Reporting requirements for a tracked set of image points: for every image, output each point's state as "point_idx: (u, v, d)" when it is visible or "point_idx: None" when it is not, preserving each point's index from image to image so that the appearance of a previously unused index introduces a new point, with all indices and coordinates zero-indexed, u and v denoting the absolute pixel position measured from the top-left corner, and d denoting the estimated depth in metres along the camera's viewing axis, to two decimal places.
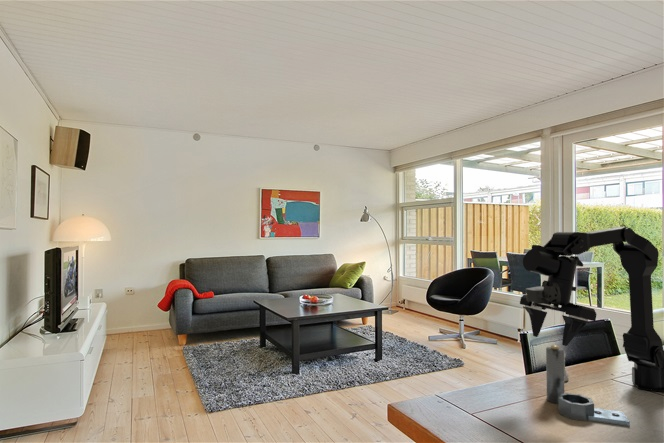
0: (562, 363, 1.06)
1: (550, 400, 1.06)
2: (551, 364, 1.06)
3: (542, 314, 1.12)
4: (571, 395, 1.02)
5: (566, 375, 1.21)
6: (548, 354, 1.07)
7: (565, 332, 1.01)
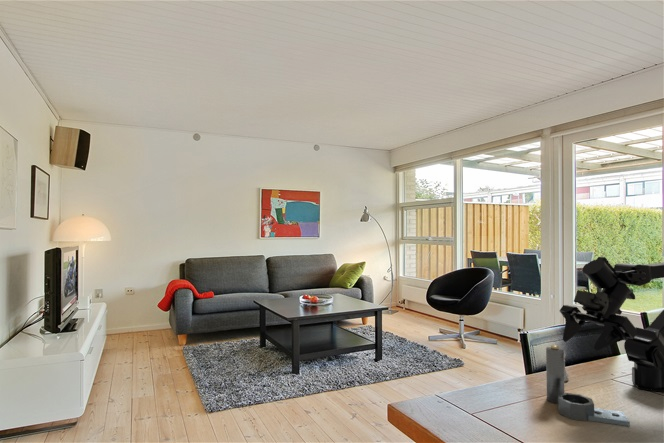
0: (562, 363, 1.06)
1: (550, 400, 1.06)
2: (551, 364, 1.06)
3: (577, 327, 1.16)
4: (571, 395, 1.02)
5: (566, 375, 1.21)
6: (548, 354, 1.07)
7: (600, 337, 1.05)
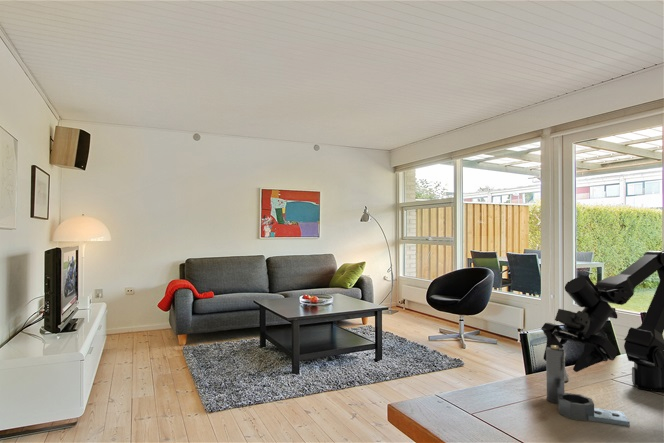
0: (562, 363, 1.06)
1: (550, 400, 1.06)
2: (551, 364, 1.06)
3: (559, 345, 1.14)
4: (571, 395, 1.02)
5: (566, 375, 1.21)
6: (548, 354, 1.07)
7: (580, 358, 1.03)
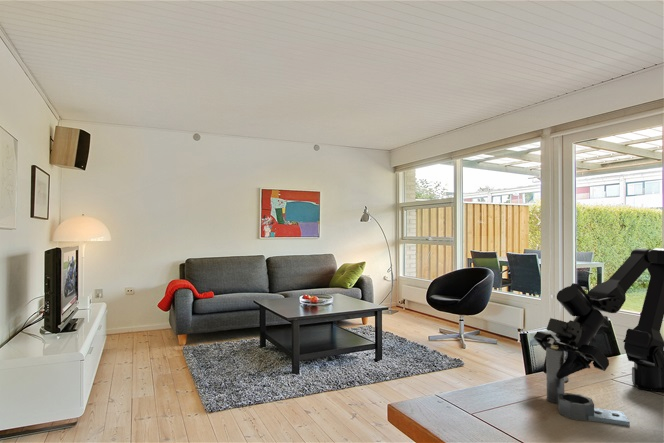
0: (562, 363, 1.06)
1: (550, 400, 1.06)
2: (551, 364, 1.06)
3: None
4: (571, 395, 1.02)
5: None
6: (548, 354, 1.07)
7: (564, 365, 1.05)
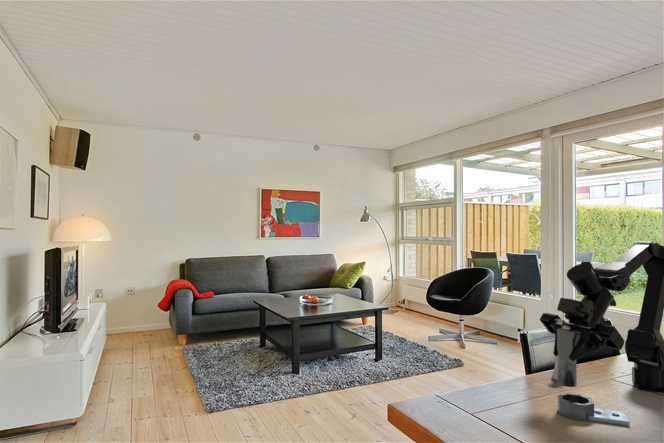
0: (575, 344, 1.01)
1: (562, 383, 1.01)
2: (563, 346, 1.01)
3: None
4: (571, 395, 1.02)
5: None
6: (560, 335, 1.02)
7: (577, 346, 1.00)
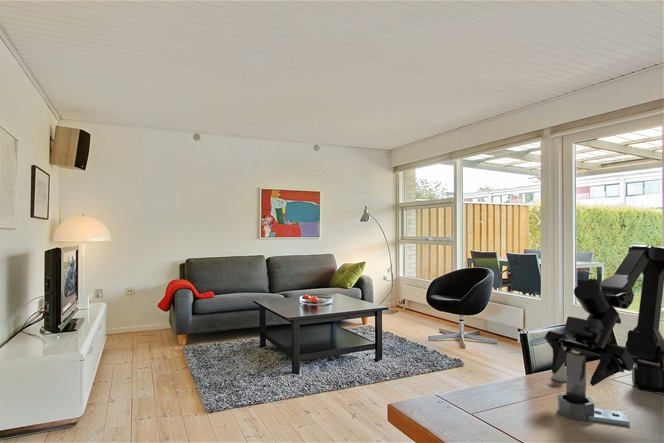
0: (585, 369, 0.98)
1: None
2: (574, 371, 0.98)
3: (564, 355, 1.06)
4: None
5: None
6: (570, 360, 0.99)
7: (597, 370, 0.95)
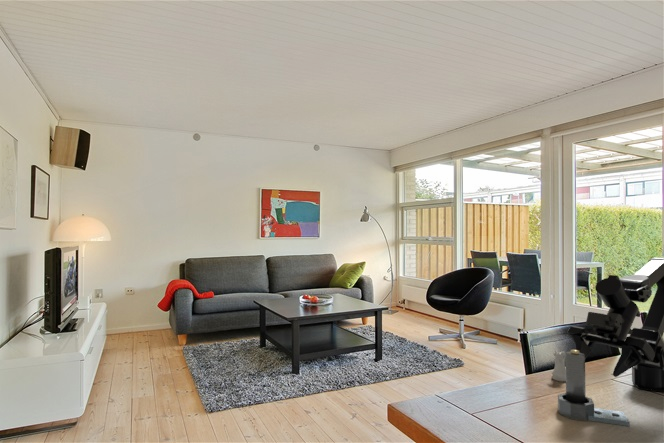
0: (584, 369, 0.98)
1: None
2: (573, 371, 0.98)
3: (587, 349, 1.11)
4: None
5: None
6: (569, 360, 0.99)
7: (619, 362, 1.00)
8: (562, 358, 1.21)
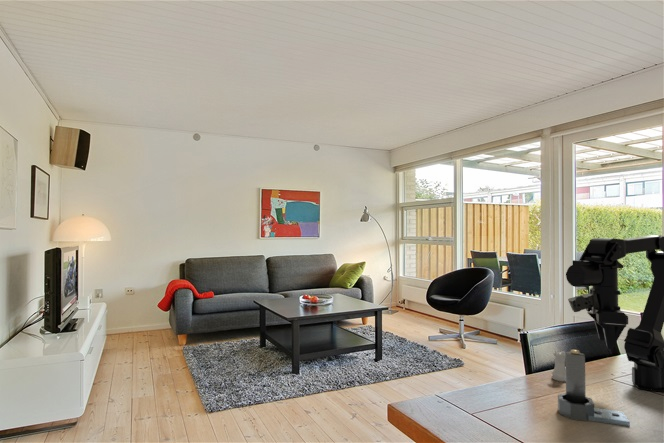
0: (584, 369, 0.98)
1: None
2: (573, 371, 0.98)
3: None
4: None
5: None
6: (569, 360, 0.99)
7: (605, 336, 1.07)
8: (562, 358, 1.21)
